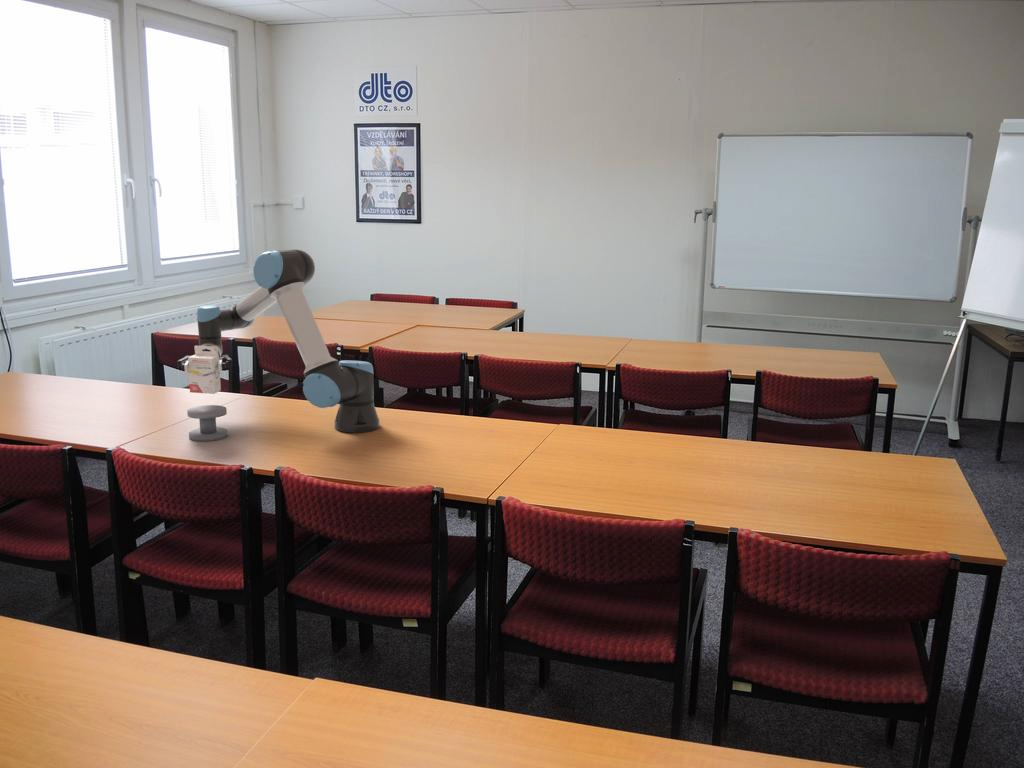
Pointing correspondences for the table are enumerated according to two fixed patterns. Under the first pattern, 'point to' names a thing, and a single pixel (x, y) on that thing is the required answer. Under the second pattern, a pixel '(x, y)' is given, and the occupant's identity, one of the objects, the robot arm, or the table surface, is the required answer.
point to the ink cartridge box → (204, 370)
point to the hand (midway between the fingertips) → (202, 368)
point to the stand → (207, 423)
